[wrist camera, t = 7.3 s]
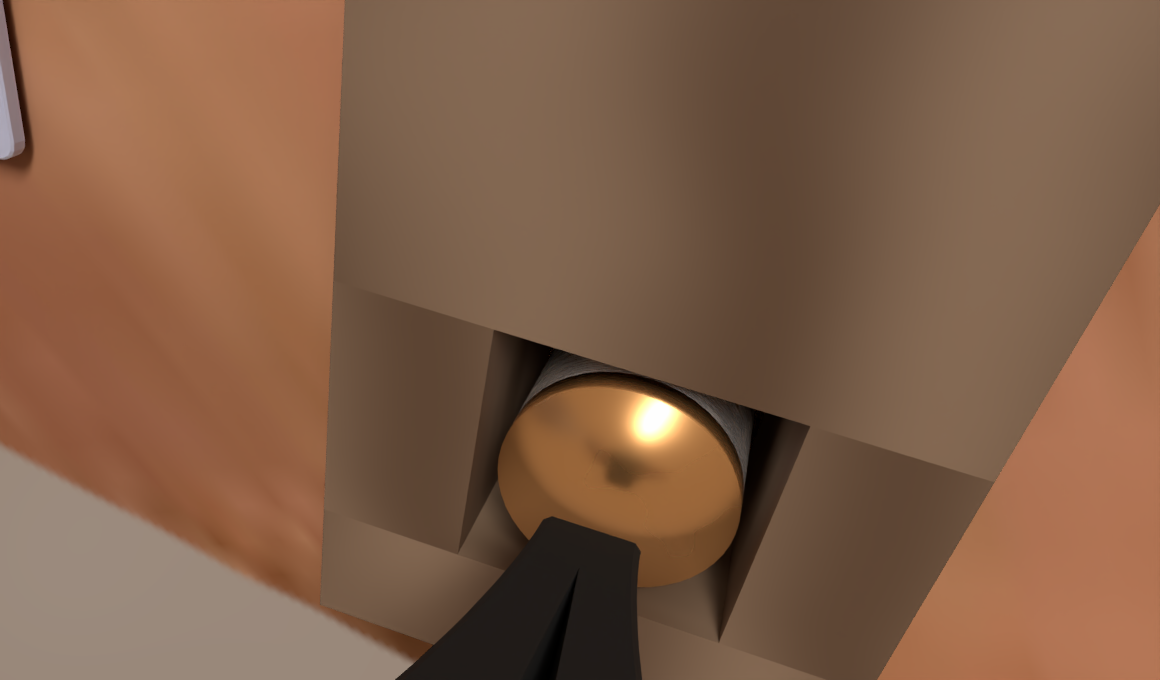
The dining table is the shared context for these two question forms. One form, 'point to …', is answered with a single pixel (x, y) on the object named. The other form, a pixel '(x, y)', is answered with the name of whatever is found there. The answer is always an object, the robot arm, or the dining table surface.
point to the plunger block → (722, 281)
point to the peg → (629, 463)
